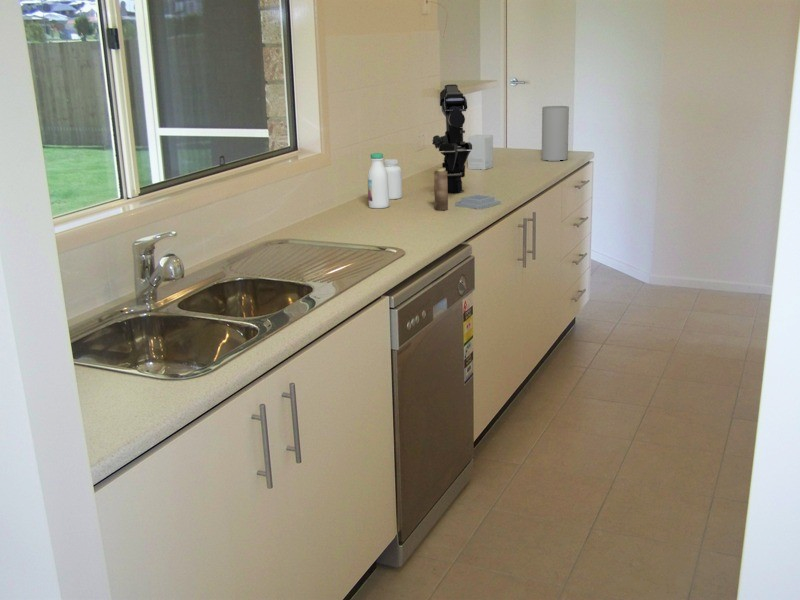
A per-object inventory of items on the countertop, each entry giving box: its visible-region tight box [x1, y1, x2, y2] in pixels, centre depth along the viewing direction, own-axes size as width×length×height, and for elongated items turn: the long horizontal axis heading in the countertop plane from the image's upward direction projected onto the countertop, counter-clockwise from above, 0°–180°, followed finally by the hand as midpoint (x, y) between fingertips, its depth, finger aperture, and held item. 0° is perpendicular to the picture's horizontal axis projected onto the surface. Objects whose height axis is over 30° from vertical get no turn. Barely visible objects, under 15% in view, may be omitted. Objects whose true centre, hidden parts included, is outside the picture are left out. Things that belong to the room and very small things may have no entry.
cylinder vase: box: [541, 105, 570, 162], centre depth 418 cm, size 12×12×25 cm
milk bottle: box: [367, 152, 390, 209], centre depth 324 cm, size 8×8×20 cm
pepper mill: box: [433, 166, 449, 212], centre depth 316 cm, size 5×5×15 cm
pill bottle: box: [383, 158, 403, 200], centre depth 341 cm, size 8×8×15 cm
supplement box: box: [467, 134, 494, 171], centre depth 403 cm, size 9×9×15 cm
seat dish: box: [454, 193, 501, 210], centre depth 324 cm, size 12×12×3 cm
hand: (456, 170), depth 327 cm, fingers open, 9 cm apart
